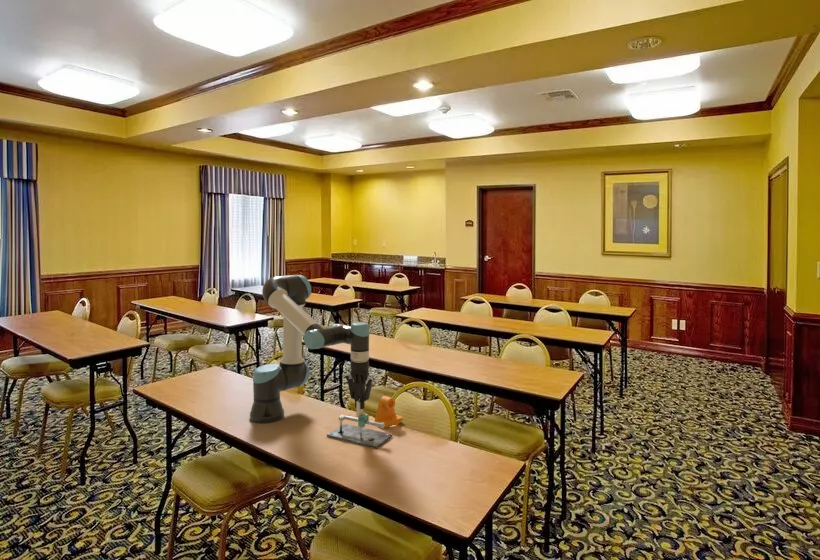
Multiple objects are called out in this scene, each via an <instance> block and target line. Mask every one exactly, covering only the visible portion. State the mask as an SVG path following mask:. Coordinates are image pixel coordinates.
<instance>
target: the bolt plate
mask: <svg viewBox="0 0 820 560" xmlns="http://www.w3.org/2000/svg"><path fill="white" fill-rule="evenodd" d="M326 437H328V438H331V439H335V440H339V441H343V442H346V443H352V444H355V445H359V446H363V447H367V448H372V449H376V450H377V449H378V448H379V447H381V446H382V445H384V444H385V443H386V442H387V441H389V440H390V439H392V438H393V434H392V433H387V432H382V431H378V430H374V429H369V428H365V427H362V437H360V427H358V425H353V424H348V423H342V433H340V426H339V427H337V428H334V429H333V430H331V431H330V432H329V433H327V434H326ZM388 439H389V440H388Z"/></svg>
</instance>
